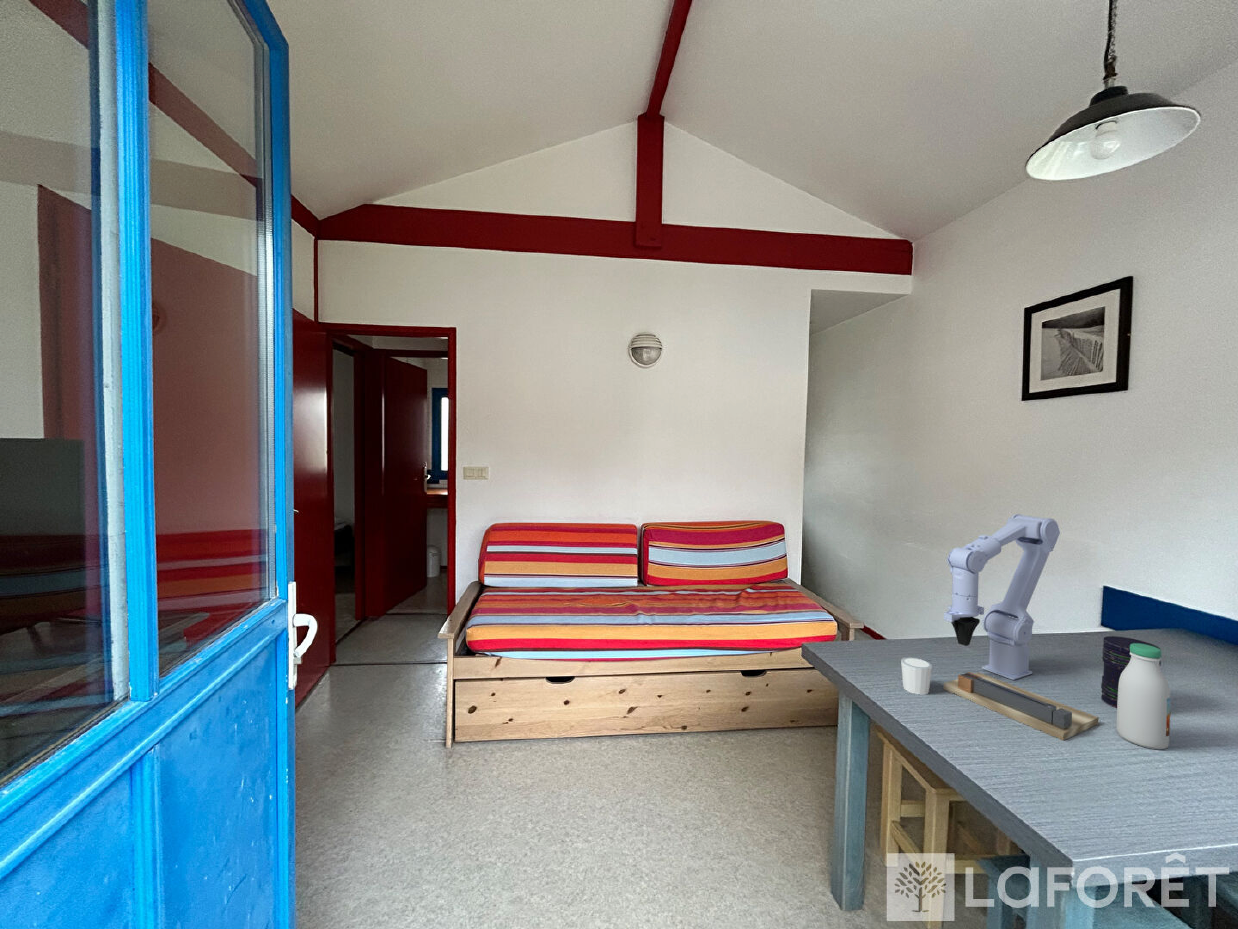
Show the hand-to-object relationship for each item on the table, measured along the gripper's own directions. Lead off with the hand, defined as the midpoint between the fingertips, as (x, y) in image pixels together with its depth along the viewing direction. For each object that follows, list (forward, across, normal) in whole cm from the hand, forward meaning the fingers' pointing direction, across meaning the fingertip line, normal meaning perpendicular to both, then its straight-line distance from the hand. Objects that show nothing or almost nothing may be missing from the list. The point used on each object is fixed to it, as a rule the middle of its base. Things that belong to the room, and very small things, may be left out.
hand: (963, 644), depth 135 cm
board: (+9, +3, +14) cm, 17 cm away
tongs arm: (+8, +6, +14) cm, 17 cm away
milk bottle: (+10, -5, +34) cm, 35 cm away
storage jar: (+10, -22, +26) cm, 35 cm away
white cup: (+10, +17, -2) cm, 20 cm away
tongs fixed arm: (+8, +8, +15) cm, 19 cm away
